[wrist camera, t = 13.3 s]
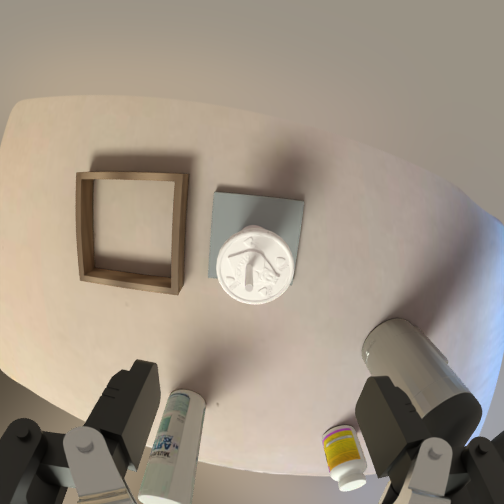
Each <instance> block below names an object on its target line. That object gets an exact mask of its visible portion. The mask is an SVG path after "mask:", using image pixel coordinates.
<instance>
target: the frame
mask: <svg viewBox="0 0 504 504" xmlns="http://www.w3.org/2000/svg"><path fill="white" fill-rule="evenodd" d="M94 179H124V180H155V181H175V188H174V203H173V223H172V253H171V278H167V277H159V276H151V275H143V274H136V273H128V272H121V271H113V270H106V269H99V268H95V260H94V242H93V180H94ZM188 180H189V174H180V173H157V172H78V173H76V237H77V253H78V265H79V275H80V281H86V282H91V283H97V284H103V285H109V286H116V287H122V288H129V289H135V290H142V291H149V292H157V293H164V294H172V295H178V294H179V292H180V290H181V289H182V287H183V279H184V245H185V224H186V207H187V193H188Z"/></svg>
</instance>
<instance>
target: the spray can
mask: <svg viewBox="0 0 504 504" xmlns="http://www.w3.org/2000/svg"><path fill="white" fill-rule="evenodd" d="M205 408H206V404H205V401H204V399H203V398H202V397H201V396H200V395H199V394H197V393H195V392H193V391H190V390H183V389H181V390H176V391H174V392H172V393H171V395H170V396H169V398H168V401H167V404H166V407H165V410H164V413H163V416H162V419H161V422H160V426H159V429H158V432H157V435H156V438H155V441H154V444H153V448H152V451H151V454H150V457H149V461H148V464H147V467H146V471H145V474H144V477H143V481H142V484H141V488H140V491H139V494H138V498H139V500H140V501H141V502H142V503H144V504H192V497H193V490H194V482H195V475H196V468H197V461H198V454H199V448H200V441H201V434H202V428H203V421H204V415H205Z"/></svg>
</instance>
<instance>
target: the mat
mask: <svg viewBox="0 0 504 504" xmlns="http://www.w3.org/2000/svg"><path fill="white" fill-rule="evenodd" d="M303 208H304V201H300V200H292V199H284V198H276V197H267V196H257V195H247V194H237V193H226V192H214V199H213V211H212V224H211V238H210V253H209V270H208V278H217V279H218V277H217V271H216V264H217V258H218V254H219V251H220V249H221V247H222V246H223V244H224V243H225V241H226V240H228V239H229V238H230V237H231V236H232V235H233V234H235V233H237V232H239V231H241V230H242V229H243V228H245V227H247V226H250V225H257V226H260V227H262V228H264V229H266V230H269V231H272V232H274V233H275V234H277V235H278V236H280V237H281V238H282V239H283V240H284V241H285V242H286V243H287V245H288V246H289V248H290V250H291V253H292V256H293V260H294V270H295V264H296V257H297V251H298V244H299V237H300V230H301V223H302V216H303ZM293 276H294V274H293ZM292 282H293V278H292V281H291V283H290V285H292Z"/></svg>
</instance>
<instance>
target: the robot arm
mask: <svg viewBox="0 0 504 504" xmlns="http://www.w3.org/2000/svg"><path fill="white" fill-rule="evenodd" d="M362 357H363V360H364V362H365V364H366V366H367V368H368V370H369V371H370V373H371V375H372V377H369V378H368V379H367V381H366V383H365V386H364V388H363V390H362V392H361V395H360V397H359V399H358V401H357V404H356V408H355V414H356V418H357V421H358V424H359V426H360V429H361V432H362V434H363V437H364V440H365V443H366V445H367V448H368V451H369V454H370V457H371V459H372V462H373V465H374V468H375V471H376V474H377V476H378V478H382V477H386V476H389V477H390V481H389V482H388V484H387V486H386V488H385V490H384V492H383V494H382V497H381V499H380V501H379V503H378V504H504V431H503V432H501V433H500V434H499V435H498V436H496V437H495V438H494V439H493V440H492V441H490V440H488V439H487V438H485V437H475V438H473V439H472V440H471V441H470V443H469V444H468V445H467V446H465V444H466V443H467V441H468V440H469V438H470V437H471V435H472V434H473V432H474V431H475V429H476V428H477V426H478V424H479V422H480V420H481V417H482V408H481V405H480V404H479V402H478V401H477V399H476V398H475V397H474V396H473V394H472V393H471V392H470V391H469V390H468V388H467V387H466V386H465V385H464V383H463V382H462V381H461V380H460V379H459V378H458V376H457V375H456V374H455V373H454V372H453V370H452V369H451V368H450V367H449V366H448V365H447V364H448V360H447V358H446V357H445V356H444V355H443V354H442V353H441V352H440V350H439V349H438V348H437V347H436V346H435V345H434V344H433V343H432V342H431V341H430V339H429V338H428V337H427V336H426V335H425V334H424V333H423V332H422V331H421V330H420V329H419V328H418V327H413V325H412V324H411V323H410V322H408V321H407V320H404V319H391V320H388V321H386V322H384V323H382V324H381V325H379V326H378V327H376V328H375V329H374V330H373V331H372V332H371V333H370V334H369V336H368V337H367V339H366V340H365V343H364V345H363V349H362ZM160 397H161V392H160V384H159V375H158V367H157V364H156V363H154V362H148V361H143V360H138V359H137V360H136V361H135V362H134V364H133V366H132V367H131V369H130V371H127V370H123V369H122V370H121V371H119V372H118V373H117V374H115V375H114V376H112V378H111V380H110V381H109V383H108V385H107V388H105V390H104V391H103V393H102V396H100V398H99V400H98V402H97V403H96V405H95V407H94V408H93V410H92V412H91V414H90V415H89V417H88V419H87V421H86V423H85V424H84V425H83V426H82V427H76V428H73V429H71V430H70V431H69V432H67V434H60V433H52V432H45V431H41V429H40V427H39V426H38V424H37V423H36V422H34V421H33V420H31V419H27V418H21V419H17V420H15V421H13V422H12V423H11V424H10V425H9V426H8V428H7V429H6V431H5V433H4V434H3V436H2V437H1V439H0V504H62V503H63V500H64V497H65V494H66V492H67V489H68V487H72V488H76V490H77V493H78V496H79V501H78V502H77V503H78V504H137V502H136V500H135V498H134V497H133V495H132V493H131V491H130V489H129V487H128V485H127V483H126V481H125V479H124V477H125V474H126V471H127V469H129V470H132V471H136V472H137V469H138V466H139V463H140V460H141V457H142V454H143V451H144V448H145V445H146V442H147V439H148V436H149V433H150V430H151V427H152V425H153V422H154V419H155V416H156V413H157V410H158V407H159V404H160ZM464 446H465V447H464Z"/></svg>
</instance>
